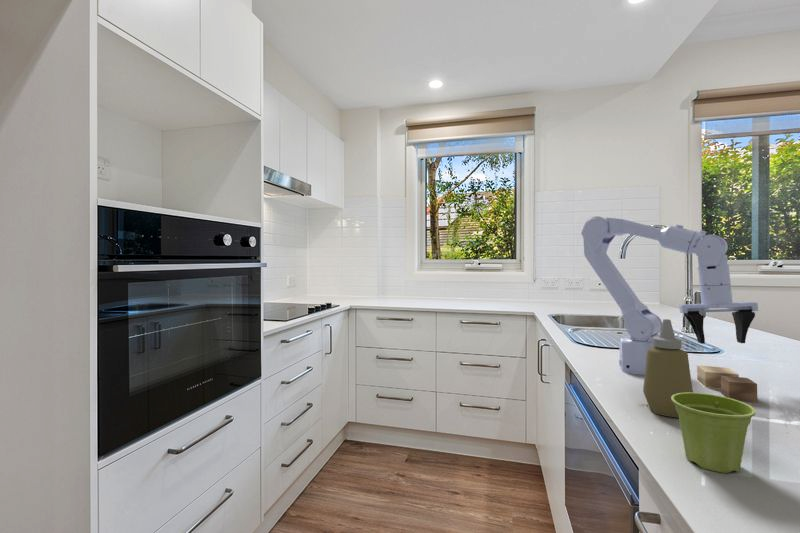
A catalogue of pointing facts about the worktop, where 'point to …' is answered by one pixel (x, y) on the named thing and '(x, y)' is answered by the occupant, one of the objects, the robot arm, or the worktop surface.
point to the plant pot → (713, 429)
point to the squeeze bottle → (666, 372)
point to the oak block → (713, 375)
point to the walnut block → (739, 388)
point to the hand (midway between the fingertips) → (721, 342)
